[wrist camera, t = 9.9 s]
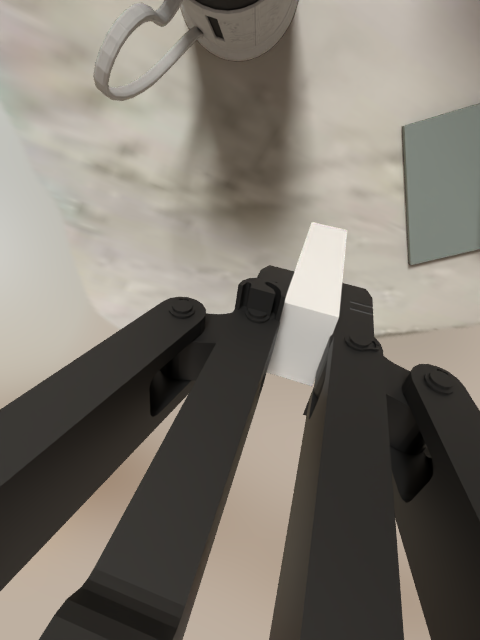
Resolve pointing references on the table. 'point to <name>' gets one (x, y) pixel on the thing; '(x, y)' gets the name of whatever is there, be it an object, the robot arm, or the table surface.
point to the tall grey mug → (196, 35)
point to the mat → (442, 184)
